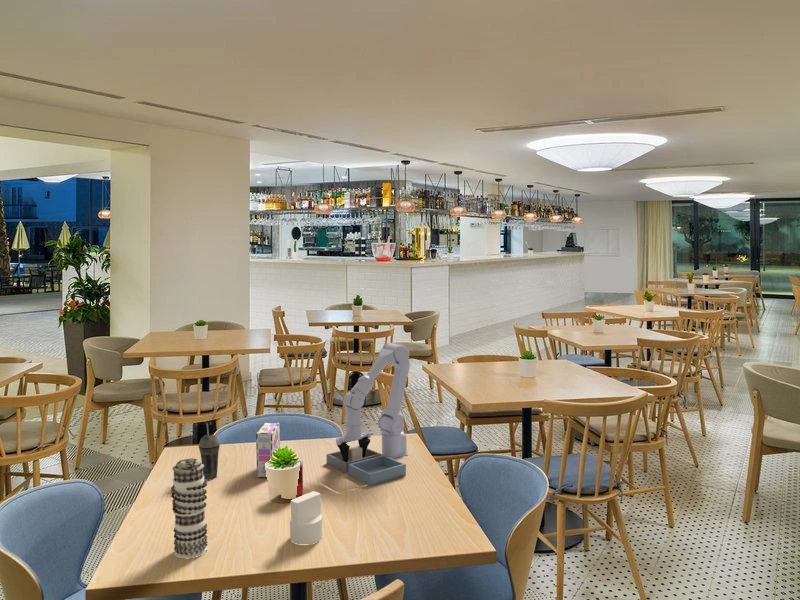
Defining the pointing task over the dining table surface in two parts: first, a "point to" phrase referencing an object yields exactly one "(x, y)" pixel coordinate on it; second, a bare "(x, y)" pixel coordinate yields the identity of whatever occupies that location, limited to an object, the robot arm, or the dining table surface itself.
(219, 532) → the dining table surface
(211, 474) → the beverage cup
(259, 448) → the candy box
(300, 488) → the canned food
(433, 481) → the dining table surface
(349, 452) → the cream block
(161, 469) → the dining table surface
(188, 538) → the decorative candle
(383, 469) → the slate blue bin
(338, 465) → the grey bin
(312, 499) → the cylinder with rectangular tab
